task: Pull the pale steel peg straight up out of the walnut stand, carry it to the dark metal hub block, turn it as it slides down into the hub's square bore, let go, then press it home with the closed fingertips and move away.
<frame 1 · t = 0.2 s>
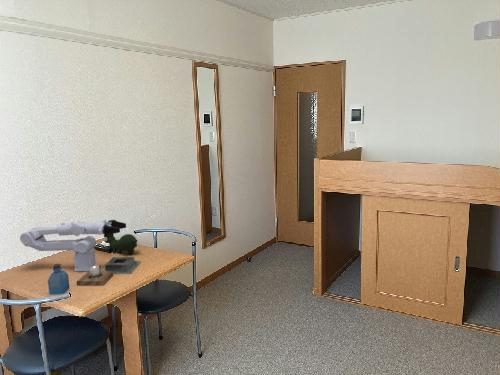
hand: (122, 227, 202), 21 cm above the table, tool horizontal, fingers open, 7 cm apart
perfume bottle: (59, 291, 181), on the table
toy figurine: (122, 252, 232), on the table
walnut stand: (95, 280, 192), on the table
metal hub block: (120, 267, 208), on the table
steel peg: (94, 273, 192), in the walnut stand
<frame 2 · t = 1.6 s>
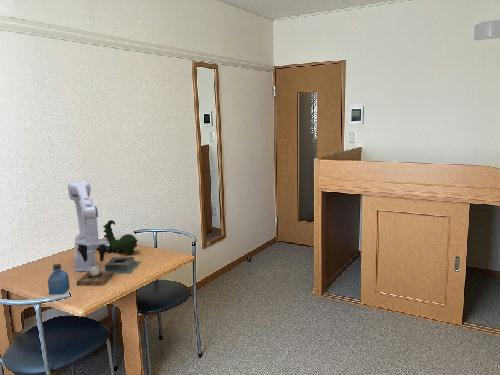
hand: (93, 260, 191), 9 cm above the table, tool pointing down, fingers open, 7 cm apart
nothing on the table moved.
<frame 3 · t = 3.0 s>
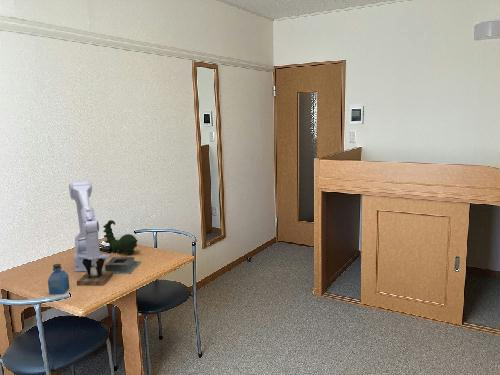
hand: (95, 274, 192), 3 cm above the table, tool pointing down, fingers closed on steel peg, 4 cm apart
steel peg: (94, 273, 192), in the walnut stand, touching gripper
everything else where it was.
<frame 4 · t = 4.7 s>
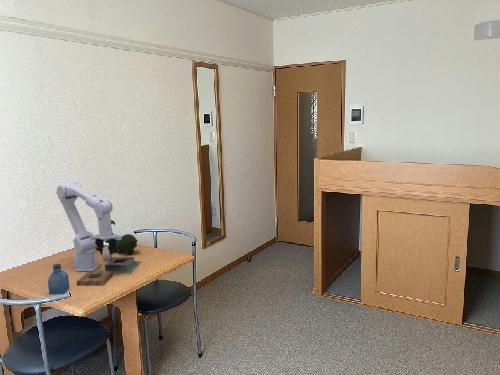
hand: (107, 254, 198), 10 cm above the table, tool pointing down, fingers closed on steel peg, 4 cm apart
steel peg: (106, 253, 198), point 10 cm above the table, touching gripper
everything else where it was.
when the fingers open (4 cm above the table, at t = 6.7 s): steel peg stays where it is, resting on metal hub block.
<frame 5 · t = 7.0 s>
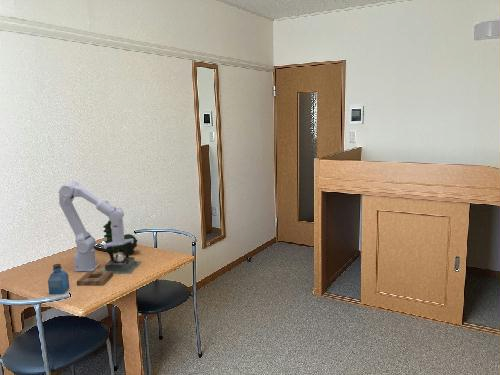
hand: (119, 259, 207), 4 cm above the table, tool pointing down, fingers open, 7 cm apart
steel peg: (120, 260, 207), in the metal hub block, point 4 cm above the table
everything else where it was.
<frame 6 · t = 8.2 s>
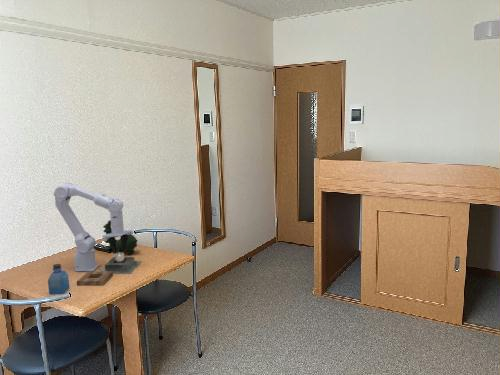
hand: (119, 250, 206), 9 cm above the table, tool pointing down, fingers open, 4 cm apart
nothing on the table moved.
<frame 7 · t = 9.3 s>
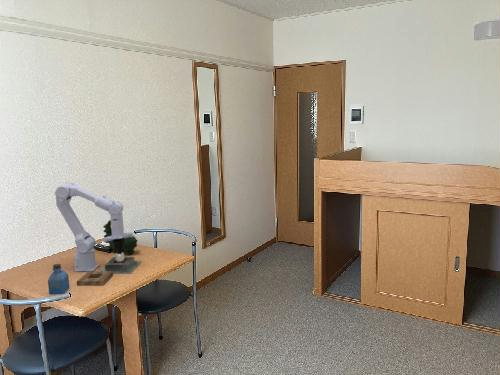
hand: (119, 253, 206), 8 cm above the table, tool pointing down, fingers closed
nothing on the table moved.
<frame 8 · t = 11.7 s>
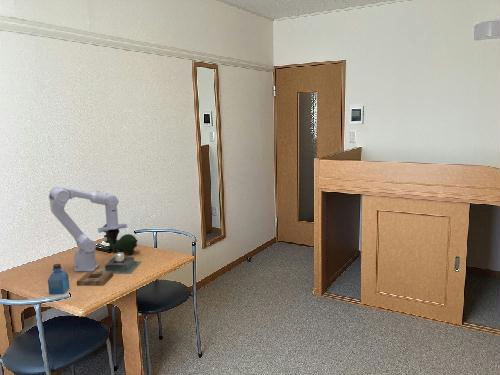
hand: (114, 243, 215), 10 cm above the table, tool pointing down, fingers closed
nothing on the table moved.
at the end: steel peg 0.3 cm off-centre on the metal hub block, point 4.1 cm above the metal hub block's base; steel peg tilted 0°; the gripper is holding nothing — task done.
